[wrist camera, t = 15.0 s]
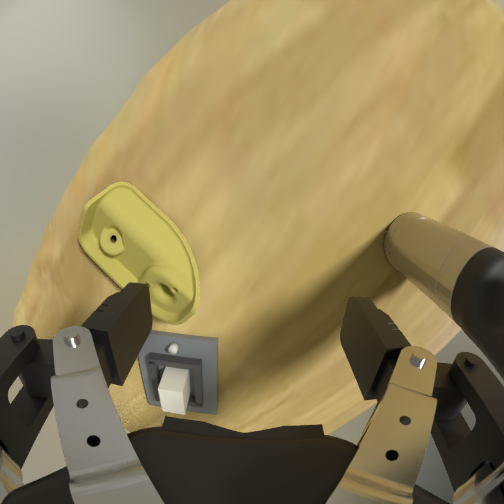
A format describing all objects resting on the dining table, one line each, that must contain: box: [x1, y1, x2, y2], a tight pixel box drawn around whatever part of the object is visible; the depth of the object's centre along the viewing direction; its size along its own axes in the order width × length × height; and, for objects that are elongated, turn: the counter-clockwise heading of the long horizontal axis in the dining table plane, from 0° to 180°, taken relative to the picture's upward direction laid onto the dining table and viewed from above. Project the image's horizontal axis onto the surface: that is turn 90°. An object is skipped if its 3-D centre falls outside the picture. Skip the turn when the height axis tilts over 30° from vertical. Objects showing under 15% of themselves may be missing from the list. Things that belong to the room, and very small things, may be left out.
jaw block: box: [158, 367, 191, 415], centre depth 42 cm, size 4×6×6 cm, turn 175°
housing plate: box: [138, 330, 218, 414], centre depth 45 cm, size 14×19×3 cm
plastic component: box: [78, 182, 200, 325], centre depth 37 cm, size 20×7×10 cm
